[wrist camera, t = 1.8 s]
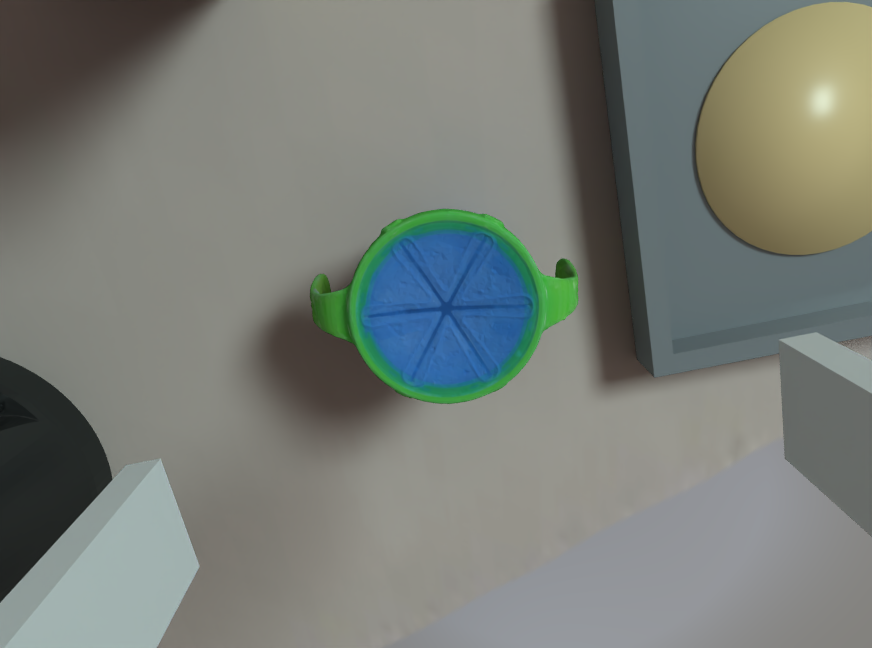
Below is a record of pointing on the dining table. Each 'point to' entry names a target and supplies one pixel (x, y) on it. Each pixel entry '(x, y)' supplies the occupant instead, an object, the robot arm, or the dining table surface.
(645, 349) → the tray
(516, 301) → the snack cup
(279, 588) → the dining table surface
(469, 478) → the dining table surface
